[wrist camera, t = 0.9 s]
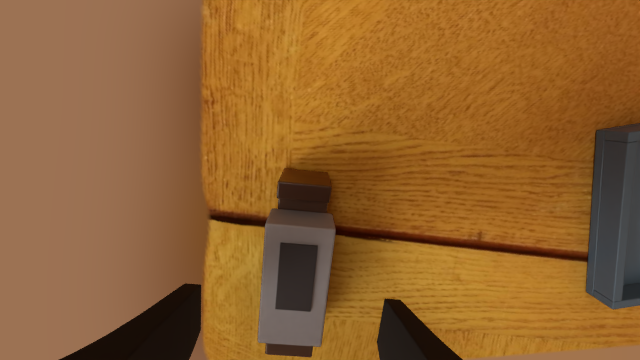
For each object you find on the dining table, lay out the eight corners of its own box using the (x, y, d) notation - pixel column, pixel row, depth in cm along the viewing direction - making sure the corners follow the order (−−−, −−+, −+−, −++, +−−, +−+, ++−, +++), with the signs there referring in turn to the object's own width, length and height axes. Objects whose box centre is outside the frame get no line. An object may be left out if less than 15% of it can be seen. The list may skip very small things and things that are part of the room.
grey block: (320, 318, 16) (321, 350, 14) (264, 314, 16) (256, 346, 14) (333, 213, 14) (336, 231, 12) (271, 207, 14) (264, 224, 12)
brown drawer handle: (311, 317, 18) (311, 358, 15) (272, 315, 18) (264, 355, 15) (328, 172, 16) (331, 186, 13) (283, 167, 16) (277, 181, 13)
